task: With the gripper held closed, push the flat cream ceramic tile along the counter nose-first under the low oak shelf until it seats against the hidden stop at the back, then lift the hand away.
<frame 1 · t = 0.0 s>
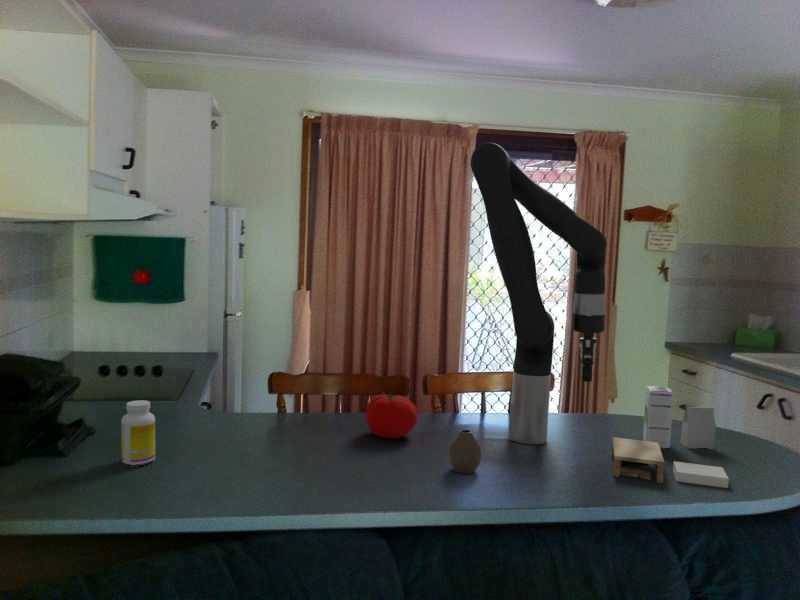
hand: (587, 377, 158), 17 cm above the breakfast bar, tool pointing down, fingers open, 8 cm apart
vase: (464, 471, 140), on the breakfast bar
tile: (699, 480, 140), on the breakfast bar
supplement bottle: (138, 462, 137), on the breakfast bar
shelf: (635, 468, 145), on the breakfast bar
syrup box: (655, 445, 163), on the breakfast bar
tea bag: (696, 447, 163), on the breakfast bar
tomato: (390, 436, 162), on the breakfast bar
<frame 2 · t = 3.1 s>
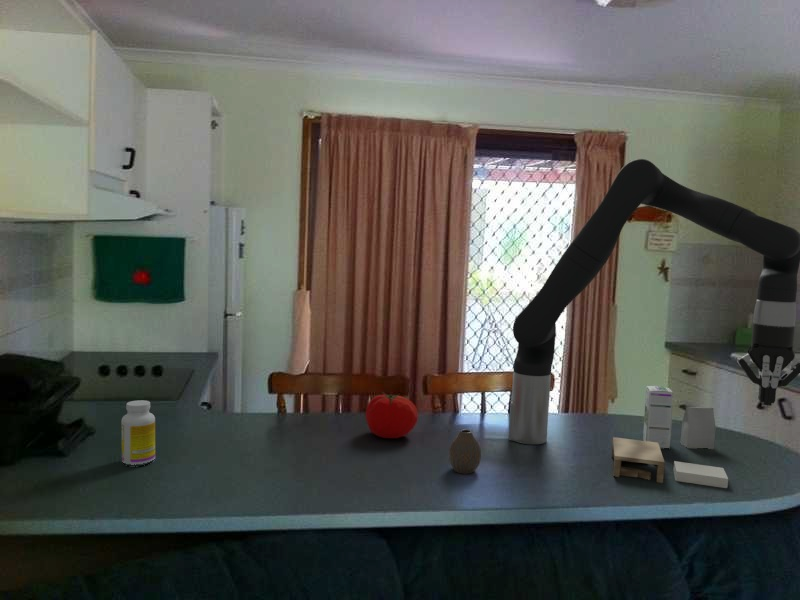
hand: (766, 404, 135), 18 cm above the breakfast bar, tool pointing down, fingers closed
nothing on the breakfast bar moved.
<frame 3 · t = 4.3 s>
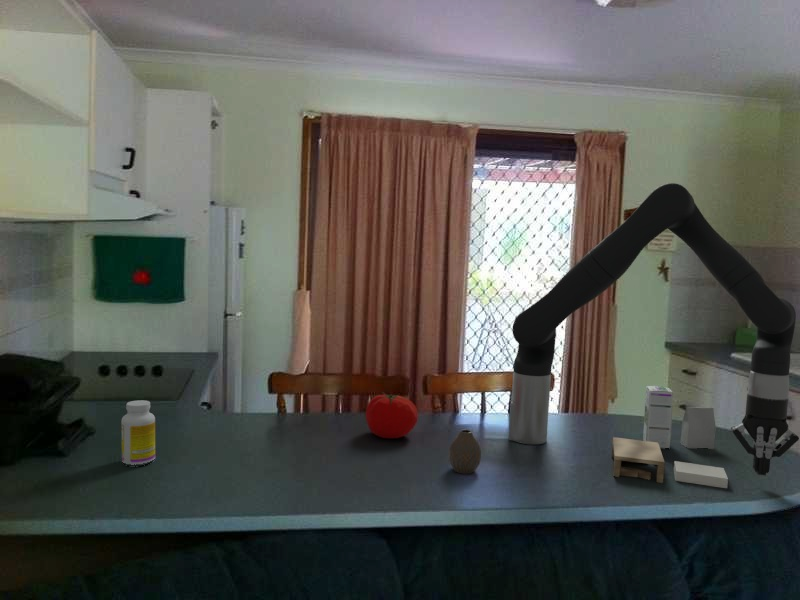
hand: (760, 473, 137), 3 cm above the breakfast bar, tool pointing down, fingers closed
nothing on the breakfast bar moved.
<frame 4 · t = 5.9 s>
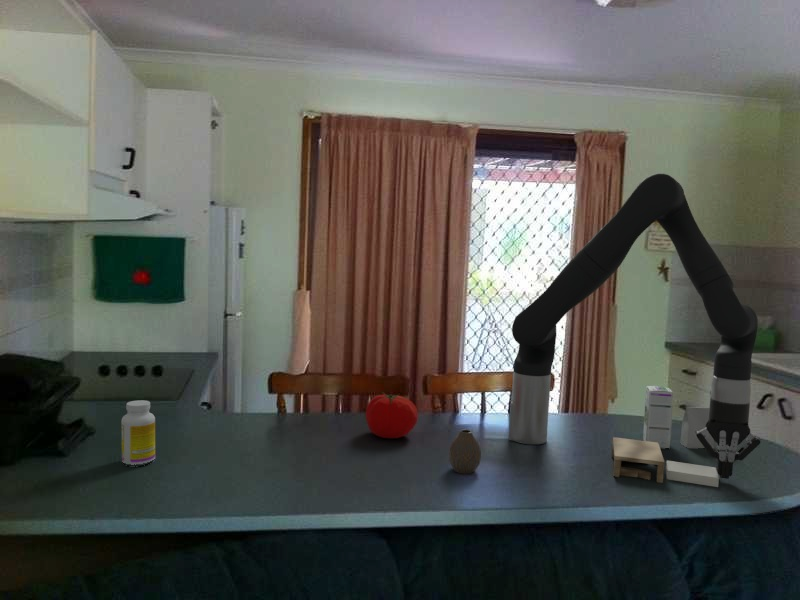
hand: (724, 477, 139), 1 cm above the breakfast bar, tool pointing down, fingers closed
tile: (690, 480, 141), on the breakfast bar, touching gripper
everything else where it was.
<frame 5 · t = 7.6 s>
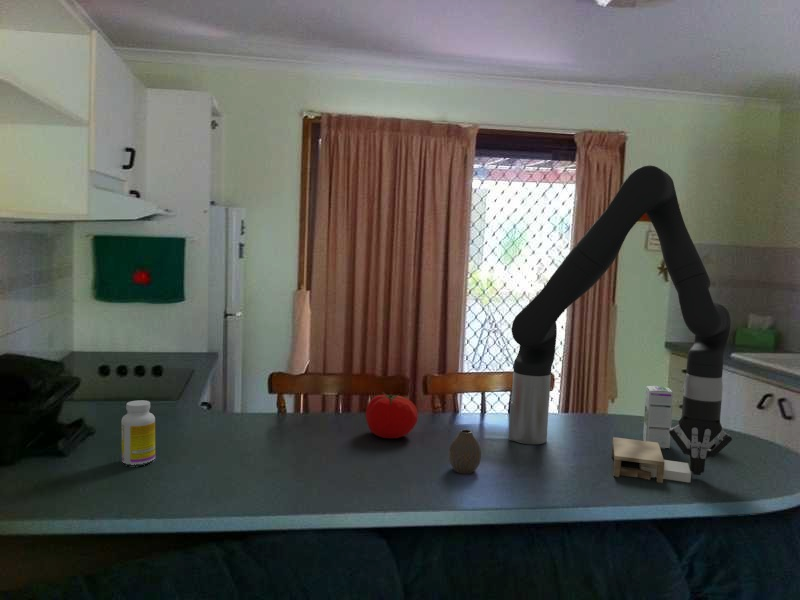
hand: (696, 473, 140), 1 cm above the breakfast bar, tool pointing down, fingers closed
tile: (663, 475, 143), on the breakfast bar
everything else where it was.
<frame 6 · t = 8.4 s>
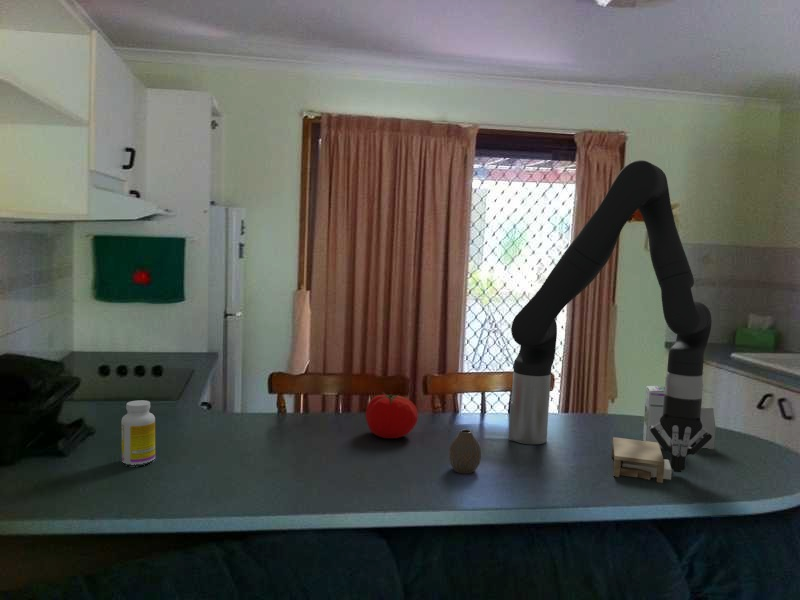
hand: (677, 471, 141), 1 cm above the breakfast bar, tool pointing down, fingers closed
tile: (645, 472, 144), on the breakfast bar, touching gripper
everything else where it was.
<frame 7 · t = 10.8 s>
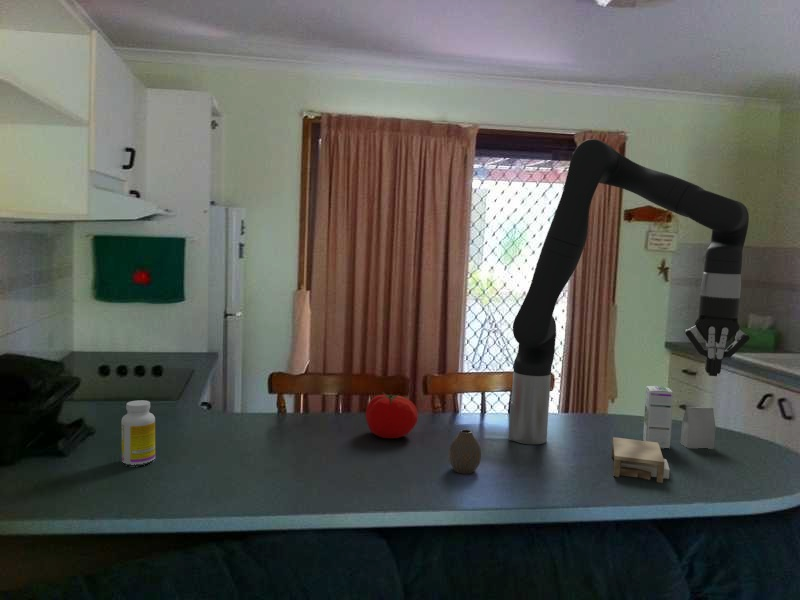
hand: (712, 375, 138), 23 cm above the breakfast bar, tool pointing down, fingers closed
tile: (643, 471, 144), on the breakfast bar
everything else where it was.
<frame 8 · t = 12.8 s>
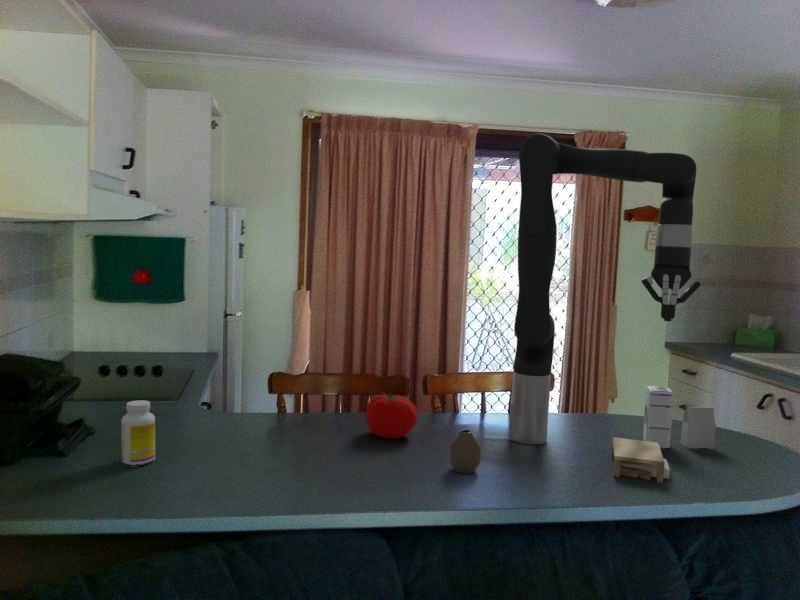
hand: (667, 320, 148), 33 cm above the breakfast bar, tool pointing down, fingers closed
nothing on the breakfast bar moved.
at the end: tile 0.2 cm from the target spot, on the breakfast bar; tile tilted 0° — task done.
